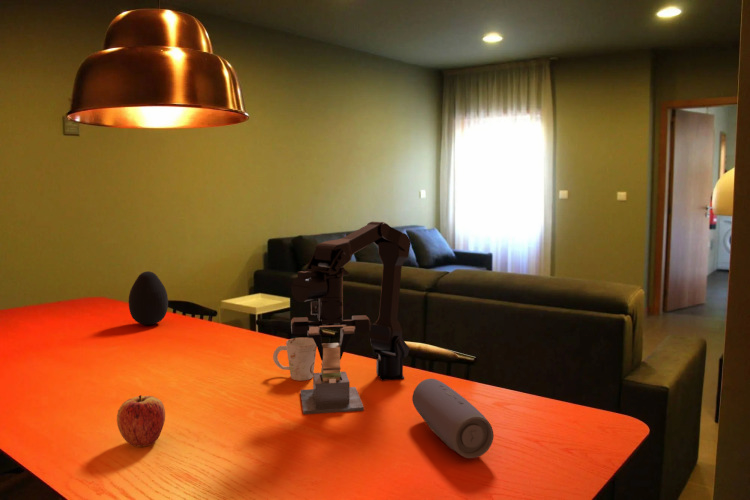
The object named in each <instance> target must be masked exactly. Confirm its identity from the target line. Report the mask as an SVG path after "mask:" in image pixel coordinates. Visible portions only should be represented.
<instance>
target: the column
mask: <svg viewBox="0 0 750 500" xmlns="http://www.w3.org/2000/svg"><path fill="white" fill-rule="evenodd" d="M339 344H340V343H339V342H330V343H329V342H328V343H322V350H323V360H321V364H320V365H321V371H320V373H322V381H329V377H336V381H340V377H341V372H342V371H341V369H342V368H341V360H340V346H339Z"/></svg>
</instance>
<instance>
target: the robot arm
mask: <svg viewBox="0 0 750 500" xmlns="http://www.w3.org/2000/svg"><path fill="white" fill-rule="evenodd" d="M366 224H367V225H364V226H362V227H361V228H359V229H357V230H354V231H353V232H351V233H349V234H347V235H345V236H344V237H342V238H339V239H331V240H330V239H329V240H326V241H323V242H320V243H318V244H317V245H316V246H315V249H314V252H313V254H312V256H311V258H310V259H309V262H308V263H307V266H306V267H305V271H303V270H301V271H297V277H295V278H294V279H293V281H292V284H291V286H290V290H291V294H292V297H293V298H294V299H295V301H297V302H298V303H305V302H309V301H310V315H311V316H313V315H314V316H316V315H317V319H318V320H309V318H308V317H307V316H305V317H299V316H298V317H292V319H291V320H290V329H291V334H292V335H306V334H307V338H312V339H314V342H315V344H316V346H317V348H316V349H317V352H318V353H319V357H320V360H321V361H322V360H323V350H322V344H323V343H322V342H323V341H322V335H321V332H320V330H321V329H322V330H323V329H340V333H339V334H340V335H339V336H340V337H339V343H338V344H339V346H340V361H341V360H342V358H343V354H344V352H345V349H346V347H347V345H348V343H349V341H350V339H351V337H352V336H356V332H358V333H362V332H363V333H364V332H365V333H367V332H368V333H369V332H370V333H369V338H368V339H370V342H369V343H370V346H371V348H372V352H373V354H376V355H378V358H377V359H376V362H375V363H376V369H375V370H376V371H375V372H376V375H377V376H378V377H379V379H380V380H381V381H391V380H394V381H396V380H404V379H405V376H404V359H405V358H407V356H409V352H410V347H409V345H408V344H407V343H406V342H405V340H404V338H403V328H402V326H401V324H400V322H399V319H398V316H399V315H398V314H399V303H400V292H401V281H402V280H401V278H402V266H403V265H404V263H405V262H406V261H407V260H408V258H409V256H410V255H409V254H410V249H411V244H412V243H411V239H410V238H409V236H408V235H407V234H406V233H404V232H402V231H401V230H398V229H396V228H394V227H391V226H390V225H389V224H388V223H386V222H384V221H370V222H368V223H366ZM371 244H375V245H376V246H377V248H378V257H379V259H380V261H381V263H382V266H383V267H382V277H381V288H380V291H381V292H380V301H379V314H378V319H377V320H376V321H375V323H372V322H371V320H370V318H369V317H368V316H367V315H365V314H364V315H363V314H362V315H352V316H351V319H344V316H343V315H344V306H343V305H344V301H343V299H344V295H343V294H344V282H343V281H344V278H343V277H346V276H349V274H350V273H349V271H348V270H347V269H345V266H346V265H348V263H349V262H350V261H351V260H352V257H353V255H354V254H356V253H357V252H359V251H361V250H363V249H364V248H366V247H368V246H370V245H371ZM314 300H316V301H314ZM317 300H318V301H317ZM355 331H356V332H355Z"/></svg>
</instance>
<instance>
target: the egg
mask: <svg viewBox="0 0 750 500" xmlns="http://www.w3.org/2000/svg"><path fill="white" fill-rule="evenodd" d="M168 308H169V298H168V293H167V289H166V287H165V286H164V284H163V282H162V281H161V279H160V278H159V277H158V275H157V274H156V273H154V272H153V271H143V272H141V273H140V274H139V275H138V276H137V278H136V280H135V281H134V282H133V284H132V287H131V289H130V292H129V295H128V310H129V313H130V316H131V317H132V319H133V320H134V321H135V322H137V324H140V325H144V326H153V325H156V324H159V323H160V322H161V321H162V320H163V319H164V318H165V317H166V315H167V312H168Z"/></svg>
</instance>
